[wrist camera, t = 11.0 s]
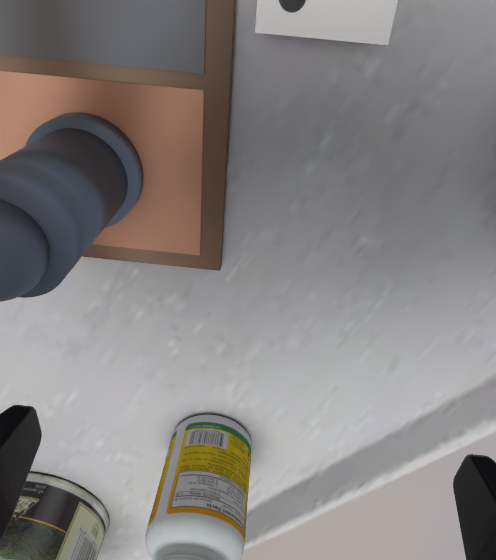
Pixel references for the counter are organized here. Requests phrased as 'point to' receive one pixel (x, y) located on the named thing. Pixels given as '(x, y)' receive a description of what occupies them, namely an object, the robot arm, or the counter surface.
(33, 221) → the pawn
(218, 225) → the game board
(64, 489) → the coffee can
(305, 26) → the white die
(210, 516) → the supplement bottle
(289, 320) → the counter surface
